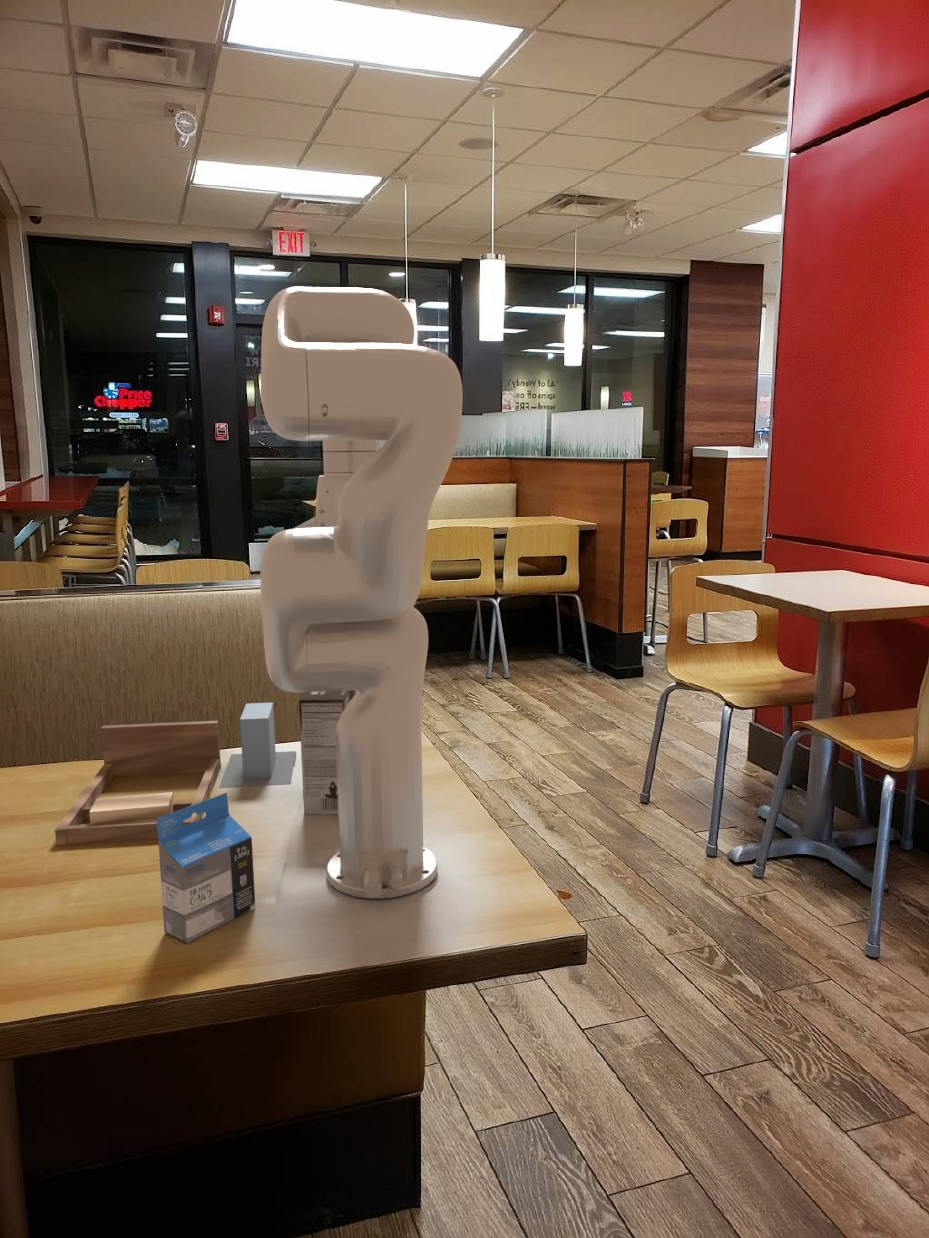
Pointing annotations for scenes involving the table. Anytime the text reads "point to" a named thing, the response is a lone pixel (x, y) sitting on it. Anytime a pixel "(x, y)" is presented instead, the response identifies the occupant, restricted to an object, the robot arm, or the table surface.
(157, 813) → the slab top
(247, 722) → the pale blue upright prism
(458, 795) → the table surface
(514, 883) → the table surface
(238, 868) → the label tape cartridge
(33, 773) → the table surface
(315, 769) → the coffee box
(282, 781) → the mat
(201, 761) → the rack
